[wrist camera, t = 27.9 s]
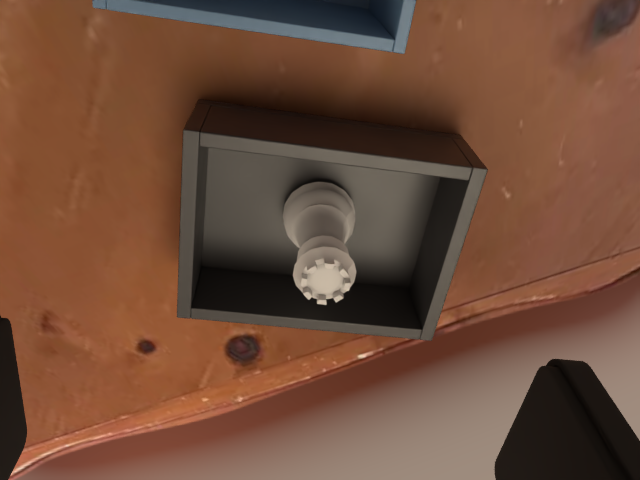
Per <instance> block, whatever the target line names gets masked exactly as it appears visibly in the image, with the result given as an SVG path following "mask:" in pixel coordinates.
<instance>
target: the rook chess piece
mask: <svg viewBox="0 0 640 480" xmlns="http://www.w3.org/2000/svg"><path fill="white" fill-rule="evenodd" d="M283 219H284V226H285V229H286V232H287V235H288V237H289V238H290V239H291V241H292V242H293V243H294V244H295V245H296V246H297V247H298V248H300V249H299V251H298V256H297V262H296V264H295V265H294V271H293V278H294V281H295V284H296V286H297V287H298V288H299V289H300V290H301V292H302V293H303V294H304V296H305V297H306V298H307V299H308V300H309V299H310V298H311V297H312V298H315V299H317V304H323V305H326V299H331V298H334V300H335V302H338V301H340V300H341V299H343V298H344V296H343V293H345V292H346V291H349V289H350V287H351V286H352V284H353V283H354V281H355V276H356V268H355V264H354V261H353V260H352V259H351V258H350V256H349V253H348V249H347V247H346V246H345V245H344V244H345V243H346V242H347V240H348V239H349V237H350V236H351V235H352V233H353V229H354V224H355V210H354V206H353V201H352V199H351V198H350V197H349V196H348V194H347V193H346V192H345V191H344V190H343V189H341V188H339V187H338V186H336V185H334V184H332V183H325V182H314V183H310V184H305V185H303V186H301V187H300V188H298V189H297V190H295V191H294V192H292V193H291V195H290V196H289V198H288V200H287V201H286V203H285V205H284V212H283Z"/></svg>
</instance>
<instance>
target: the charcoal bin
mask: <svg viewBox="0 0 640 480" xmlns="http://www.w3.org/2000/svg"><path fill="white" fill-rule="evenodd" d="M487 170H488V169H487V168H486V167H485V165H484V164H483V163H482V161H481V160H480V159H479V158H478V156H477V155H476V154H475V153H474V151H473V150H472V149H471V147H470V146H469V145H468V144H467V142H466V141H465V140H464V139H463V137H462V136H461V135H456V134H449V133H441V132H434V131H427V130H420V129H412V128H405V127H398V126H391V125H383V124H376V123H369V122H361V121H354V120H347V119H340V118H332V117H325V116H318V115H311V114H303V113H296V112H289V111H281V110H274V109H267V108H260V107H252V106H245V105H238V104H231V103H223V102H216V101H209V100H201V99H199V100H198V102H197V104H196V106H195V108H194V110H193V112H192V114H191V116H190V118H189V120H188V122H187V124H186V125H185V127H184V129H183V149H182V179H181V209H180V239H179V269H178V299H177V317H179V318H192V319H202V320H213V321H224V322H235V323H246V324H257V325H267V326H278V327H289V328H300V329H311V330H322V331H333V332H344V333H355V334H365V335H376V336H387V337H398V338H409V339H420V340H430V341H432V338H433V335H434V332H435V329H436V326H437V323H438V320H439V317H440V314H441V311H442V308H443V305H444V302H445V299H446V295H447V292H448V289H449V286H450V283H451V280H452V277H453V274H454V271H455V268H456V265H457V262H458V259H459V256H460V253H461V250H462V247H463V244H464V241H465V238H466V234H467V231H468V228H469V225H470V222H471V219H472V216H473V213H474V210H475V207H476V204H477V201H478V198H479V195H480V192H481V189H482V186H483V183H484V180H485V177H486V174H487ZM314 182H325V183H332V184H334V185H336V186H338V187H339V188H341V189H343V190H344V191H345V192H346V193H347V194H348V196H349V197H350V198H351V199H352V201H353V206H354V210H355V224H354V229H353V233H352V235H351V236H350V237H349V239H348V240H347V242H346V243H345V244H344V245H345V246H346V247H347V249H348V253H349V256H350V258H351V259H352V260H353V261H354V264H355V268H356V276H355V281H354V283H353V284H352V286H351V287H350V289H349V291H346V292H345V293H343V296H344V298H343V299H341V300H340V301H338V302H335V300H334V298H331V299H326V305H323V304H317V299H315V298H312V297H311V298H310V299H309V300H308V299H307V298H306V297H305V296H304V294H303V293H302V292H301V290H300V289H299V288H298V287H297V286H296V284H295V281H294V278H293V271H294V265H295V264H296V262H297V256H298V251H299V249H300V248H298V247H297V246H296V245H295V244H294V243H293V242H292V241H291V239H290V238H289V237H288V235H287V232H286V229H285V226H284V219H283V212H284V205H285V203H286V201H287V200H288V198H289V196H290V195H291V193H292V192H294V191H295V190H297V189H298V188H300V187H301V186H303V185H305V184H310V183H314Z"/></svg>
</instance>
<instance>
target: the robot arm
mask: <svg viewBox="0 0 640 480" xmlns="http://www.w3.org/2000/svg"><path fill="white" fill-rule="evenodd" d="M26 437H27V426H26V419H25V413H24V406H23V400H22V393H21V387H20V380H19V374H18V367H17V361H16V354H15V348H14V341H13V335H12V328H11V324H10V321H9V319H7V318H1V316H0V480H8V479H9V477H10V475H11V473H12V471H13V469H14V467H15V465H16V463H17V461H18V459H19V457H20V455H21V453H22V451H23V448H24V445H25V442H26ZM495 478H496V480H640V441H639V439H638V438H637V436H636V435H635V433H634V432H633V430H632V429H631V427H630V426H629V424H628V423H627V421H626V420H625V418H624V417H623V415H622V414H621V412H620V411H619V409H618V408H617V406H616V405H615V403H614V402H613V400H612V399H611V397H610V396H609V394H608V393H607V391H606V390H605V388H604V387H603V385H602V384H601V382H600V381H599V379H598V378H597V376H596V375H595V373H594V372H593V370H592V369H591V367H590V366H589V365H588V364H587V363H585V362H583V361H573V360H562V359H552V360H550V361H549V362H548V363H547V365H546V366H542V367H540V368H539V370H538V371H537V373H536V376H535V377H534V380H533V382H532V384H531V386H530V388H529V390H528V393H527V395H526V397H525V399H524V401H523V403H522V406H521V408H520V410H519V412H518V414H517V416H516V418H515V420H514V423H513V425H512V427H511V429H510V431H509V433H508V435H507V438H506V440H505V442H504V444H503V446H502V448H501V451H500V453H499V455H498V457H497V459H496V462H495Z"/></svg>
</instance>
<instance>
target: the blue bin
mask: <svg viewBox="0 0 640 480" xmlns="http://www.w3.org/2000/svg"><path fill="white" fill-rule="evenodd" d="M415 4H416V0H93V7H94V8H99V9H108V10H112V11H119V12H126V13H132V14H139V15H146V16H153V17H159V18H166V19H173V20H179V21H186V22H193V23H200V24H206V25H213V26H220V27H226V28H233V29H240V30H247V31H253V32H260V33H267V34H274V35H280V36H287V37H294V38H300V39H307V40H314V41H321V42H327V43H334V44H341V45H347V46H354V47H361V48H368V49H374V50H381V51H388V52H392V51H393V52H394V53H401V54H404V53H405V49H406V45H407V40H408V36H409V31H410V27H411V22H412V17H413V13H414V8H415Z"/></svg>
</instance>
